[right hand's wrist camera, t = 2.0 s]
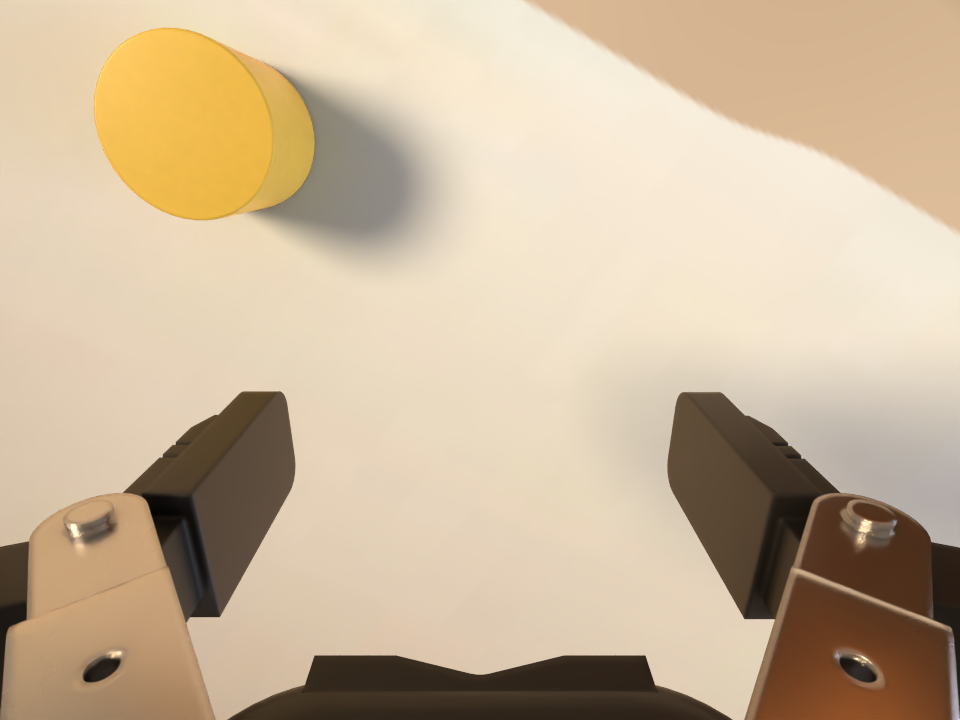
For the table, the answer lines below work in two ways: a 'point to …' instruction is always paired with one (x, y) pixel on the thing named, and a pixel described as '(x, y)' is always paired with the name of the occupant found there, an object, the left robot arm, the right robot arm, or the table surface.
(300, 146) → the canister
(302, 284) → the table surface
